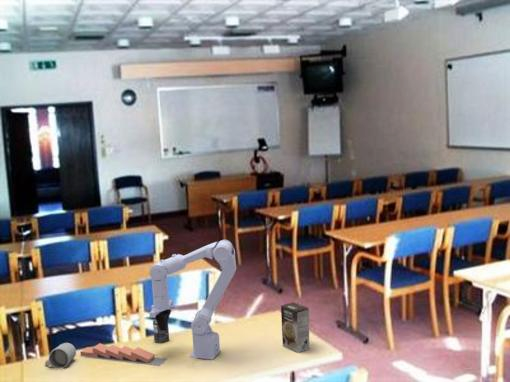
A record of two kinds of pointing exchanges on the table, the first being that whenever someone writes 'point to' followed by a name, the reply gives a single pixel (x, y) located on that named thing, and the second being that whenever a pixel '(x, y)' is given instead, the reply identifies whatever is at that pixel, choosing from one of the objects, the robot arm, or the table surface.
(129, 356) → the domino
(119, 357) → the domino
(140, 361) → the runner mat
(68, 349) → the ceramic mug
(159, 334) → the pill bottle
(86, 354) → the domino
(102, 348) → the domino
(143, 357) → the domino
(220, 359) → the table surface
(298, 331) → the coffee box
